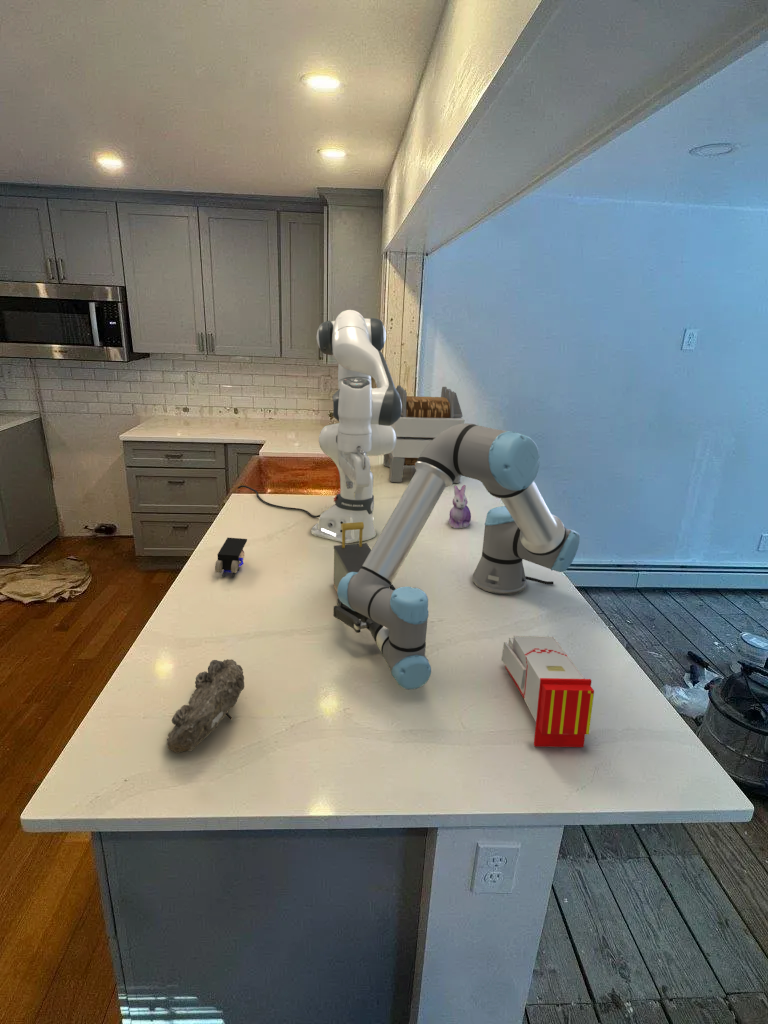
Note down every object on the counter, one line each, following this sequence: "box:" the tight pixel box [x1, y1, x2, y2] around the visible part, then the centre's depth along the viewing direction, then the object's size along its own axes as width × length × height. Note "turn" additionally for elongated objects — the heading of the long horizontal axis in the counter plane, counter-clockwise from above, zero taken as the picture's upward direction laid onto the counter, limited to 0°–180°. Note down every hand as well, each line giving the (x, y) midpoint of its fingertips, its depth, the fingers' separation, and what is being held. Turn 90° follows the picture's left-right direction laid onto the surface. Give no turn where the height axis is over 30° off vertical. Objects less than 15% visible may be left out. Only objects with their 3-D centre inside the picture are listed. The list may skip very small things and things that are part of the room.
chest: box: [333, 549, 347, 593], centre depth 153 cm, size 18×10×11 cm, turn 17°
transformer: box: [383, 384, 465, 484], centre depth 268 cm, size 34×33×41 cm
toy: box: [501, 635, 595, 748], centre depth 115 cm, size 12×13×30 cm
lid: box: [333, 522, 372, 574], centre depth 150 cm, size 18×10×8 cm, turn 17°
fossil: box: [166, 658, 245, 754], centre depth 106 cm, size 22×10×15 cm
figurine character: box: [214, 537, 248, 578], centre depth 166 cm, size 7×8×15 cm
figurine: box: [448, 484, 472, 529], centre depth 208 cm, size 9×10×15 cm
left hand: (353, 493), depth 152 cm, fingers open, 8 cm apart
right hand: (365, 591), depth 145 cm, fingers open, 13 cm apart
